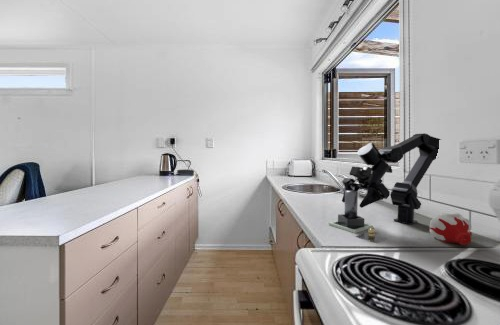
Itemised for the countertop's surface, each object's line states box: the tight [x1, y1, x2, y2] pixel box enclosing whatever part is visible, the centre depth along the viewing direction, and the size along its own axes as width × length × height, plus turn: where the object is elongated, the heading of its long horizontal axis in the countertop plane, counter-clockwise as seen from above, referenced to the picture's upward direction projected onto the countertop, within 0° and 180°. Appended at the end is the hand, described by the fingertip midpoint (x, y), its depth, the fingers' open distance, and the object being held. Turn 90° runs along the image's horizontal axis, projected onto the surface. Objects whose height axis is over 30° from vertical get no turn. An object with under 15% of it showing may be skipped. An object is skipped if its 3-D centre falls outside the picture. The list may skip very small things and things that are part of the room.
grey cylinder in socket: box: [337, 190, 365, 230], centre depth 90 cm, size 7×7×14 cm
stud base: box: [354, 227, 388, 244], centre depth 78 cm, size 7×7×4 cm
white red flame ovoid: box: [428, 212, 473, 246], centre depth 76 cm, size 9×11×15 cm
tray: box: [328, 220, 374, 234], centre depth 90 cm, size 11×11×2 cm
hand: (351, 204), depth 90 cm, fingers open, 9 cm apart
